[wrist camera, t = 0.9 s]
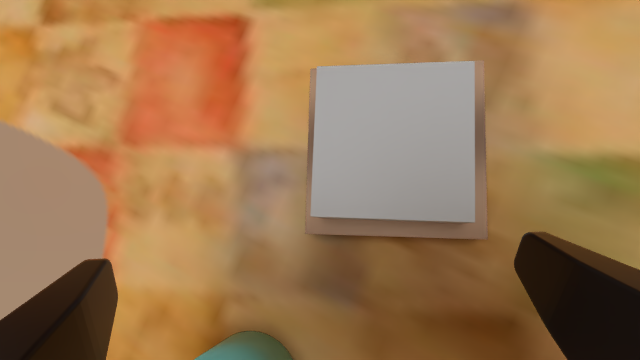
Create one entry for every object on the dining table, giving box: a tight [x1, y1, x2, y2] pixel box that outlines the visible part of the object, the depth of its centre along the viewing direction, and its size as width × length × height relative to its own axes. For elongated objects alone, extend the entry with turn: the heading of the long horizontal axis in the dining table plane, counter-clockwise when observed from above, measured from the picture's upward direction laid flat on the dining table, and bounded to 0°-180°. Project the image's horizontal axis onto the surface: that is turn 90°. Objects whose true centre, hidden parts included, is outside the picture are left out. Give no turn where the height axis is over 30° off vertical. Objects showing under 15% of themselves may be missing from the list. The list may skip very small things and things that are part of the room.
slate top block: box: [310, 61, 475, 223], centre depth 19 cm, size 7×7×3 cm
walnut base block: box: [305, 61, 488, 239], centre depth 22 cm, size 9×9×3 cm
